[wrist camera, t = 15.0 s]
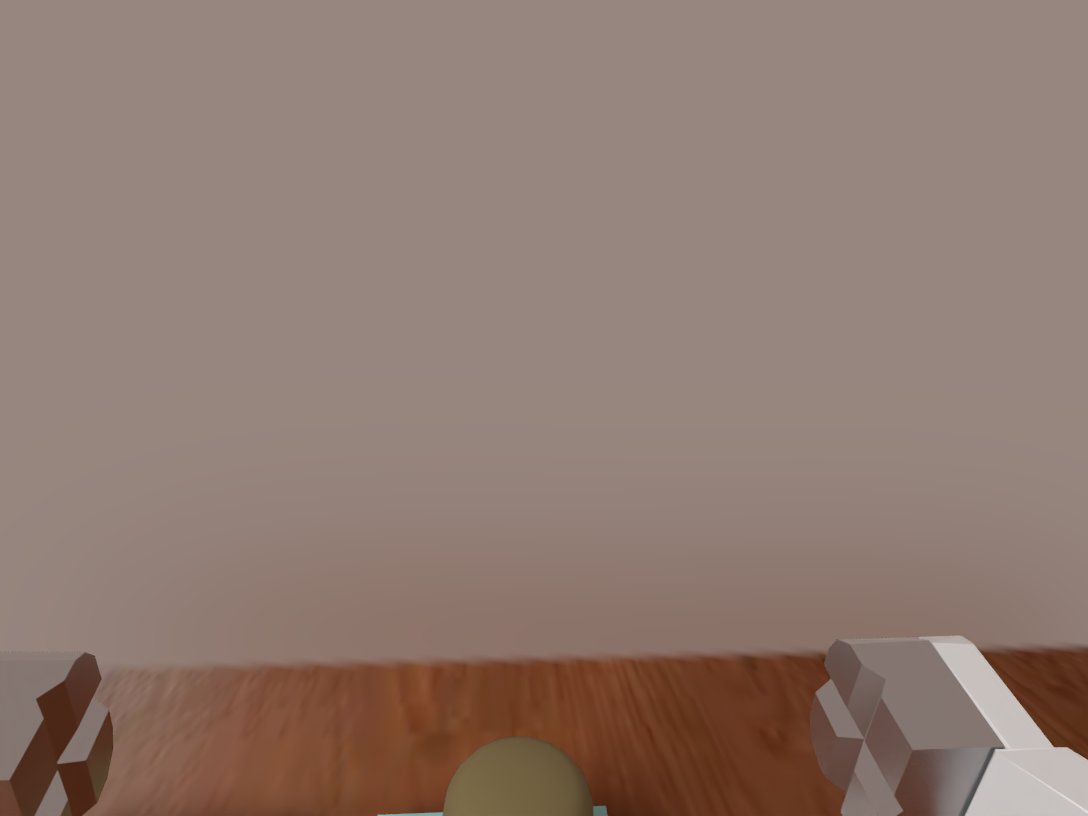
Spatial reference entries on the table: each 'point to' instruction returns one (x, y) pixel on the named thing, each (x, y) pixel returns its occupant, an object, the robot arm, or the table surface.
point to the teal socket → (598, 812)
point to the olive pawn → (518, 782)
